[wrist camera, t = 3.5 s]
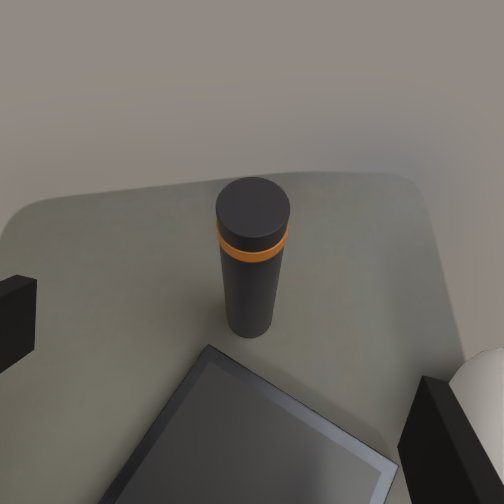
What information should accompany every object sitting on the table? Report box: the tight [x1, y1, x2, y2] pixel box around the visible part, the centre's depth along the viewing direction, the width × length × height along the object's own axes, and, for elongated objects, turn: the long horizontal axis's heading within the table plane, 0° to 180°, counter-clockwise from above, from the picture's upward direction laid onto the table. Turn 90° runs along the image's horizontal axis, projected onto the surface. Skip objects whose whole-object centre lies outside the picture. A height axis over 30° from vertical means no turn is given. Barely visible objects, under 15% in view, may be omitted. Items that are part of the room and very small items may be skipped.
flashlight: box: [216, 177, 290, 338], centre depth 20 cm, size 3×3×12 cm
